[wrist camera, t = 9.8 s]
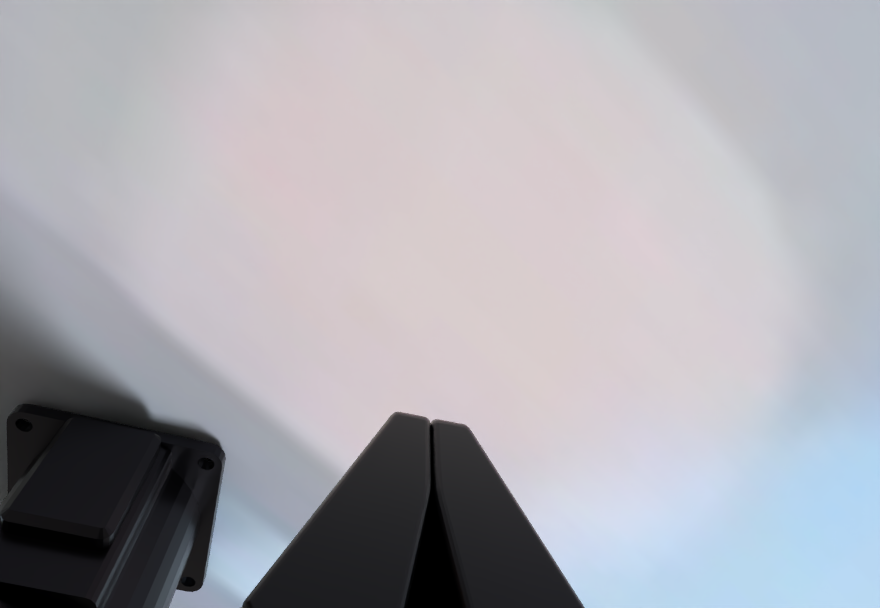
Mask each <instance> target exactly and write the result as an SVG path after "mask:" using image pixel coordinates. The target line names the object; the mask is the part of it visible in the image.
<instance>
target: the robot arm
mask: <svg viewBox="0 0 880 608" xmlns="http://www.w3.org/2000/svg"><path fill="white" fill-rule="evenodd" d="M24 419H26V420H29V421H30V422H31V423H28V422H26V421H25V420H24ZM7 455H8V495H7V496H6V498H5V499H4V500H3V502H2V503H1V505H0V608H169V606H170V603H171V601H172V598H173V596H174V593H175V591H176V589H177V590H183V591H190V592H193V591H197V590H199V589H200V588H201V587H202V585H203V582H204V579H205V577H206V572H207V566H208V560H209V554H210V548H211V542H212V536H213V530H214V525H215V519H216V513H217V507H218V501H219V495H220V489H221V483H222V477H223V471H224V465H225V459H226V458H225V453H224V451H223V450H222V449H221V448H220V447H219V446H217V445H215V444H212V443H208V442H203V441H199V440H194V439H189V438H185V437H180V436H175V435H171V434H166V433H161V432H157V431H152V430H147V429H143V428H138V427H134V426H129V425H124V424H120V423H115V422H110V421H106V420H101V419H96V418H92V417H87V416H83V415H78V414H73V413H69V412H64V411H59V410H55V409H50V408H45V407H41V406H36V405H31V404H22V405H18V406H17V407H16V408H15V409H14V411H13V412H12V413H11V414H10V415H9V417H8V419H7ZM204 458H209V459H211V460H212V461H207V460H205V459H204ZM241 608H584V606H583V604H582V603H581V601H580V600H579V598H578V597H577V595H576V594H575V592H574V590H573V589H572V587H571V586H570V584H569V583H568V581H567V579H566V578H565V576H564V575H563V573H562V572H561V570H560V569H559V567H558V565H557V564H556V562H555V561H554V559H553V558H552V556H551V555H550V553H549V551H548V550H547V548H546V547H545V545H544V544H543V542H542V540H541V539H540V537H539V536H538V534H537V533H536V531H535V530H534V528H533V526H532V525H531V523H530V522H529V520H528V519H527V517H526V516H525V514H524V512H523V511H522V509H521V508H520V506H519V505H518V503H517V501H516V500H515V498H514V497H513V495H512V494H511V492H510V491H509V489H508V487H507V486H506V484H505V483H504V481H503V480H502V478H501V477H500V475H499V473H498V472H497V470H496V469H495V467H494V466H493V464H492V462H491V461H490V459H489V458H488V456H487V455H486V453H485V452H484V450H483V448H482V447H481V445H480V444H479V442H478V441H477V439H476V438H475V436H474V434H473V433H472V431H471V430H470V428H469V427H467V426H466V425H464V424H460V423H454V422H449V421H444V420H439V419H435V420H433V421H432V422H431V423H430V421H429V420H428V419H427V418H426V417H423V416H418V415H413V414H408V413H402V412H395V413H394V414H392V415H391V416H390V418H389V419H388V420H387V421H386V423H385V424H384V425H383V426H382V428H381V429H380V430H379V432H378V433H377V434H376V435H375V437H374V438H373V439H372V440H371V442H370V443H369V444H368V445H367V447H366V448H365V449H364V450H363V452H362V453H361V454H360V456H359V457H358V458H357V459H356V461H355V462H354V463H353V464H352V466H351V467H350V468H349V469H348V471H347V472H346V473H345V475H344V476H343V477H342V478H341V480H340V481H339V482H338V483H337V485H336V486H335V487H334V488H333V490H332V491H331V492H330V493H329V495H328V496H327V497H326V499H325V500H324V501H323V502H322V504H321V505H320V506H319V507H318V509H317V510H316V511H315V512H314V514H313V515H312V516H311V518H310V519H309V520H308V521H307V523H306V524H305V525H304V526H303V528H302V529H301V530H300V531H299V533H298V534H297V535H296V536H295V538H294V539H293V540H292V542H291V543H290V544H289V545H288V547H287V548H286V549H285V550H284V552H283V553H282V554H281V555H280V557H279V558H278V559H277V561H276V562H275V563H274V564H273V566H272V567H271V568H270V569H269V571H268V572H267V573H266V574H265V576H264V577H263V578H262V580H261V581H260V582H259V583H258V585H257V586H256V587H255V588H254V590H253V591H252V592H251V593H250V595H249V596H248V597H247V598H246V600H245V601H244V603H243V606H242V607H241Z"/></svg>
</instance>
